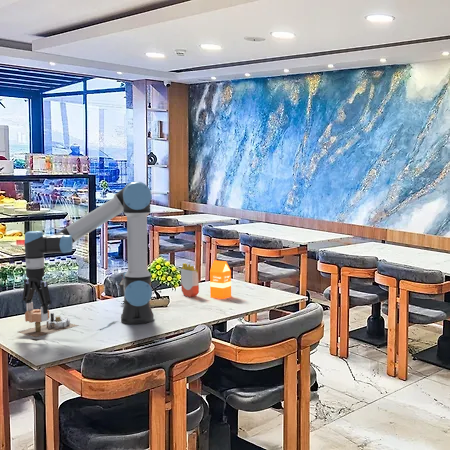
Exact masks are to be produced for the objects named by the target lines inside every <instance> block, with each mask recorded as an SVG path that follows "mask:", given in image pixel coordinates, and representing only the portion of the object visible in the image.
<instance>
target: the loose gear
mask: <svg viewBox="0 0 450 450" xmlns="http://www.w3.org/2000/svg"><path fill="white" fill-rule="evenodd" d="M49 319H50V309H48V320H49ZM24 320H25V322H29V323H35V322H40V323H42V322H41V308H40V309H39V308H37V309H35V308H33V310H31V311H27V310H26V311H25V312H24Z"/></svg>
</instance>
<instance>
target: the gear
mask: <svg viewBox="0 0 450 450" xmlns="http://www.w3.org/2000/svg"><path fill="white" fill-rule="evenodd" d="M49 316H50V318H49V319H50V320H49V319H48V321H46V324H47V327H48V328H49V329H51V328H55V329H59V328H66V327H67V326H70V323H71V321H70V319H69V318H68V317H65V318H64V317H63V318H62V317H61V321H58V322H56V318H55V314H54V312H50V313H49Z"/></svg>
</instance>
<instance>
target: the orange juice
mask: <svg viewBox="0 0 450 450" xmlns="http://www.w3.org/2000/svg"><path fill="white" fill-rule="evenodd" d="M209 283H210V284H209V287H210V291H209V293H210V298H213V299H219V300H220V299H221V300H225V299H228V298H232V270H231V268H230V266H229V264H228V261H227V260H226V261H225V260H215V259H214V260H213V262H212V264H211V266H210V270H209Z"/></svg>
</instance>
